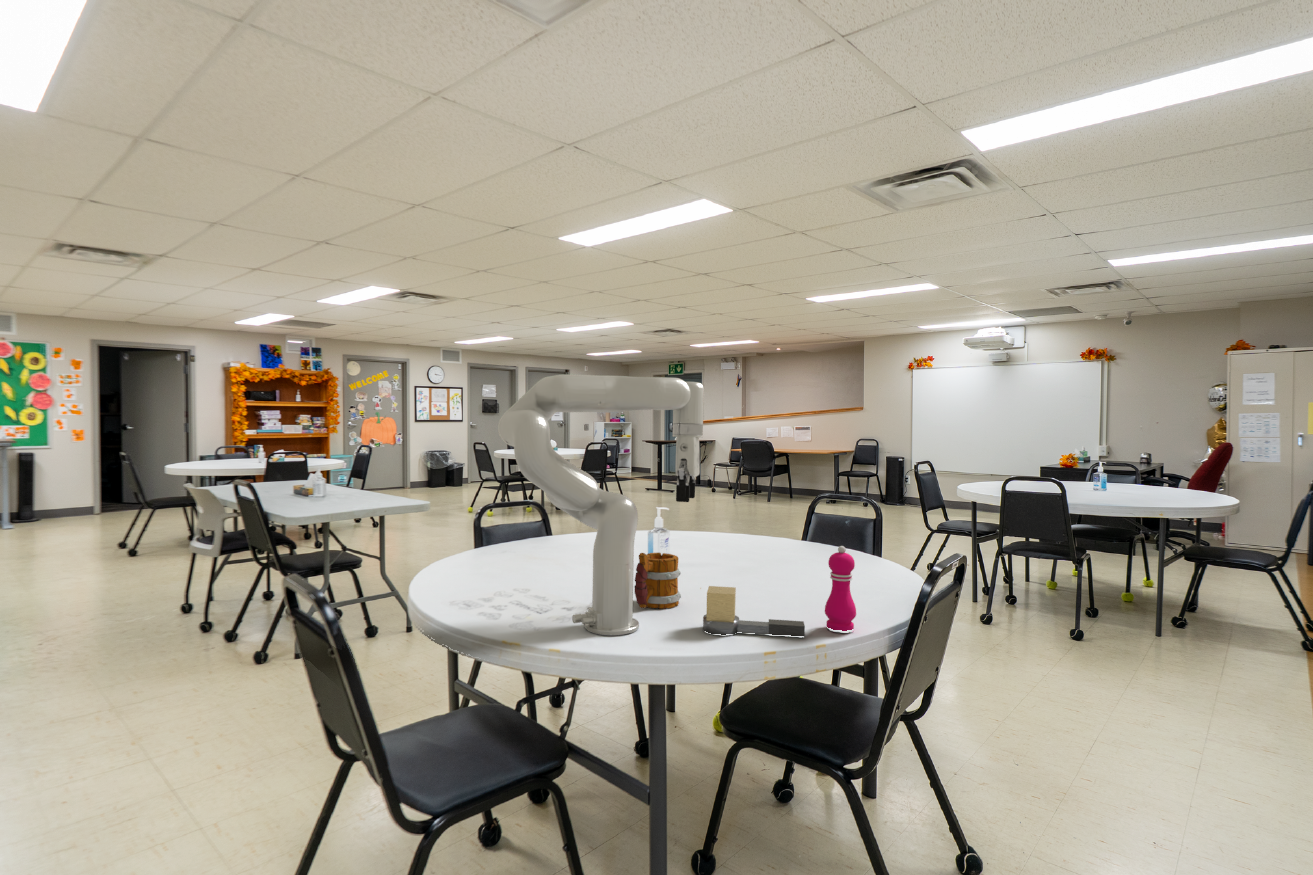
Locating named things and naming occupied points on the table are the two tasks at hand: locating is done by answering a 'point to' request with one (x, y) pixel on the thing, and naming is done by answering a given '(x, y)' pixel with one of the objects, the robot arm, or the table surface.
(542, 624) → the table surface
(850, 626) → the pepper mill
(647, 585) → the mug
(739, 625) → the ratchet
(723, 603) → the wooden cube
